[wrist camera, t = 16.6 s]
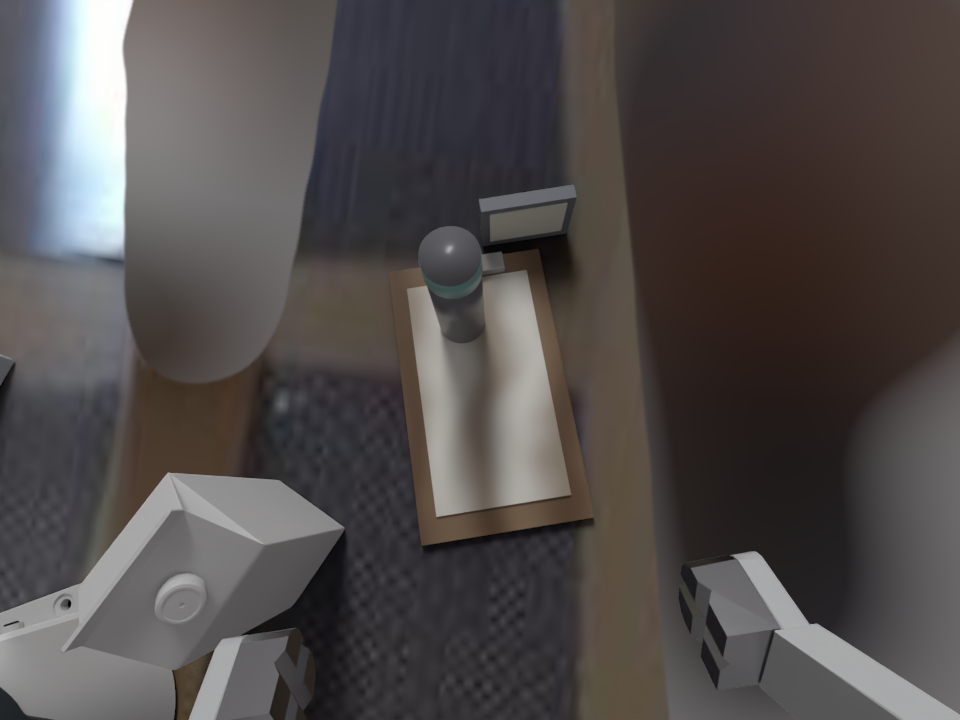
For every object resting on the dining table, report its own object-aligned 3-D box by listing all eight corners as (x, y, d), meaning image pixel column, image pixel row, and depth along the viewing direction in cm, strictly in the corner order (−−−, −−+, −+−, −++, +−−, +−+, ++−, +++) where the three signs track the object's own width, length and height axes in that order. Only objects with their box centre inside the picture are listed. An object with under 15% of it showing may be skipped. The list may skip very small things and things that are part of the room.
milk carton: (225, 554, 41) (5, 603, 23) (279, 479, 42) (114, 467, 24) (292, 607, 40) (119, 703, 21) (346, 528, 41) (227, 554, 23)
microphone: (442, 347, 44) (421, 288, 32) (436, 304, 45) (413, 230, 33) (488, 339, 44) (486, 278, 32) (481, 296, 45) (476, 220, 33)
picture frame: (483, 248, 47) (481, 213, 42) (480, 235, 48) (478, 199, 42) (567, 234, 47) (576, 198, 42) (564, 222, 48) (573, 184, 42)
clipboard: (422, 545, 41) (419, 547, 39) (389, 275, 47) (386, 267, 45) (592, 517, 41) (596, 518, 39) (538, 251, 47) (539, 243, 46)
